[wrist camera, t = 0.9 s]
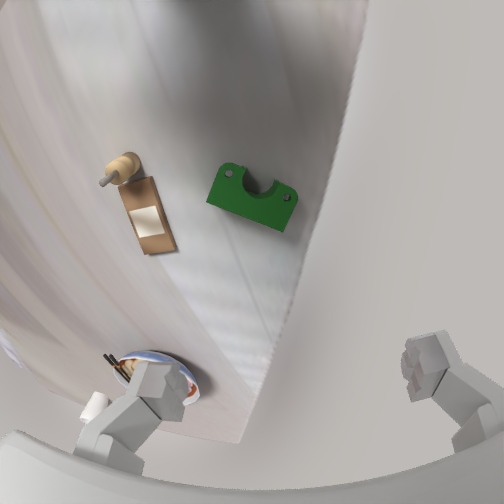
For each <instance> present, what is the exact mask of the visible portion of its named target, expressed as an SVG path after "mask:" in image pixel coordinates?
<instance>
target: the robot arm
mask: <svg viewBox="0 0 504 504" xmlns="http://www.w3.org/2000/svg"><path fill="white" fill-rule="evenodd" d="M405 347H406V351H405V352H404V353H403V354H402V358H401V369H402V374H403V377H404V378H405V379H406V380H408V381H409V383H408V386H407V390H408V393H409V397H410V400H411V402H415V401H419V400H423V399H426V398H430V397H432V399H433V400H434V401H435V402H436V403H437V404H438V405H439V406H440V407H441V408H442V409H443V410H444V411H445V412H446V413H448V414H449V415H450V416H451V417H452V418H453V419H454V420H455V421H456V422H457V423H458V424H459V425H460V426H461V428H460V429H459V431H458V432H457V433H456V434H455V435H454V436H453V438H452V443H453V447H454V451H455V454H453V455H451V456H448V457H445V458H443V459H440V460H437V461H434V462H432V463H429V464H426V465H422V466H420V467H416V468H413V469H409V470H406V471H402V472H399V473H395V474H391V475H387V476H383V477H379V478H374V479H369V480H364V481H359V482H353V483H347V484H340V485H333V486H325V487H316V488H305V489H287V490H240V489H223V488H212V487H202V486H194V485H186V484H180V483H174V482H168V481H163V480H158V479H153V478H149V477H144V476H142V471H143V467H144V463H145V462H144V461H143V459H142V458H140V457H138V456H137V455H136V454H134V453H135V452H136V451H137V449H138V448H139V447H140V446H141V445H142V444H143V443H144V442H145V440H146V439H147V438H148V437H149V436H150V435H151V434H152V433H153V431H154V430H155V429H156V428H157V427H158V426H159V424H160V423H161V422H162V421H175V422H182V418H183V414H184V409H185V407H184V405H183V403H182V402H183V401H184V400H185V399H186V398H187V396H188V391H189V387H188V381H187V378H186V376H185V375H184V374H182V373H181V372H179V371H180V367H179V365H178V364H177V363H173V362H152V361H139V362H138V363H137V365H136V367H135V370H134V372H133V375H132V377H131V380H130V382H129V385H128V388H127V390H126V393H125V395H121V396H120V397H118V398H117V399H116V400H115V401H114V402H113V403H111V404H110V405H109V406H108V407H107V408H106V409H104V410H103V411H102V412H101V413H100V414H98V415H97V416H96V417H95V418H94V419H92V420H91V421H90V422H89V423H88V424H87V425H86V426H84V427H83V429H82V431H81V434H80V436H79V439H78V442H77V444H76V448H75V450H74V453H73V454H70V453H67V452H65V451H63V450H60V449H58V448H56V447H53V446H51V445H49V444H47V443H45V442H42V441H40V440H38V439H36V438H34V437H32V436H30V435H28V434H26V433H25V432H22V431H20V430H14V431H12V432H10V433H9V434H7V435H6V436H4V437H3V438H1V439H0V504H504V388H502V387H501V386H500V385H498V384H497V383H495V382H494V381H492V380H491V379H489V378H488V377H486V376H485V375H483V374H482V373H481V372H479V371H478V370H476V369H475V368H473V367H472V366H470V365H469V364H467V363H464V364H463V362H462V360H461V358H460V356H459V354H458V352H457V350H456V348H455V346H454V344H453V342H452V340H451V338H450V336H449V334H448V332H447V331H445V330H442V331H438V332H434V333H429V334H425V335H421V336H417V337H413V338H409V339H408V340H407V341H406V344H405ZM161 420H162V421H161Z"/></svg>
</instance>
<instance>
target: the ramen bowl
mask: <svg viewBox="0 0 504 504" xmlns="http://www.w3.org/2000/svg"><path fill="white" fill-rule="evenodd" d="M103 356H104V358H105V359H106V360H107V361H108V362H109V363H110V364H111V365H112V366H113V373H114V375H115V377H116V378H117V380H118V382H119V383H121V384H122V385H123V386H124V387H125V388H126V389H127V388H128V385H129V382H130V380H131V377H132V375H133V372H134V370H135V367H136V365H137V363H138V362H139V361H152V362H173V363H177V364H178V365H179V367H180V371H179V372H181V373H182V374H184V375H185V376H186V378H187V381H188V387H189V391H188V396H187V398H186V399H185V400H184V401H183V402H182V403H183V405H184V406H186V405H189V404H192V403H195V402H196V401H197V400H198V398H199V397H200V392H199V388H198V385H197V382H196V380H195V378H194V376H193V375H192V373H191V372H190V371H189V370H188V369H187V368H186V367H185V366H184V365H183V364H182V363H180V362H179V361H177V360H175V359H174V358H172V357H171V356H168V355H165V354H162V353H159V352H153V351H138V352H133V353H130V354H128V355H126V356H124V357H123V358H121V359H120V360H119V361H116V359H115V358H114V357H113V355H112V354H110V355H109V357H110V358H111V360H112V361H113V362H114V363H115V364H114V363H113V362H112V361H111V360H110V358H109V357H108V356H107V355H106V354H104V355H103Z"/></svg>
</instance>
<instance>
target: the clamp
mask: <svg viewBox="0 0 504 504" xmlns="http://www.w3.org/2000/svg"><path fill="white" fill-rule="evenodd" d="M226 170H232V172H233V175H232V176H231V177H227V176H226V175H225V171H226ZM246 170H247V168H246V167H244V166H242V167H241V166H238V165H236V164H233V163H225V164H223V165H222V166H221V167H220V168H219V171H218V173H217V176H216V178H215V181H214V183H213V186H212V188H211V191H210V193H209V196H208V198H207V201H206V202H207V203H210V204H212V205H215V206H217V207H220V208H223V209H225V210H228V211H230V212H233V213H235V214H238V215H240V216H243V217H246V218H248V219H251V220H253V221H256V222H258V223H261V224H263V225H266V226H268V227H271V228H273V229H276V230H278V231H281V232H283V231H284V229H285V227H286V225H287V223H288V220H289V218H290V216H291V214H292V212H293V210H294V207H295V205H296V203H297V201H298V195H297V193H296V191H295V190H294V189H292V188H291V187H289V186H286V185H284V184H282V183H280V182H279V181H278V180H275V179H274V183H273V186H272V187H271V188H270V189H269V190H268V191H267V192H265V193H262V194H254V193H251V192H249V191H248V190H247V189H246V188H245V187H244V185H243V182H242V178H243V175H244V173H245V171H246ZM285 194H289V195H290V197H289V199H288V200H284V199H283V196H284V195H285Z"/></svg>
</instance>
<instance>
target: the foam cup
mask: <svg viewBox="0 0 504 504" xmlns="http://www.w3.org/2000/svg"><path fill="white" fill-rule="evenodd" d="M108 401H109V399H108V397H107V396H105V395H104V394H102V393H99V392H94V393H93V395H92V397H91V398H90V400H89V402H88V404H87V405H86V407H85V409H84V411H83V412H82V413H81V416H80V420H81V421H82V422H84V423H85V424H88V423H89V422H90V421H91V420H92V419H94V418H95V417H96V416H97V415H98V414H100V413H101V412H102V411H103V410H104V409H106V408H107V406H108Z"/></svg>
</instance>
